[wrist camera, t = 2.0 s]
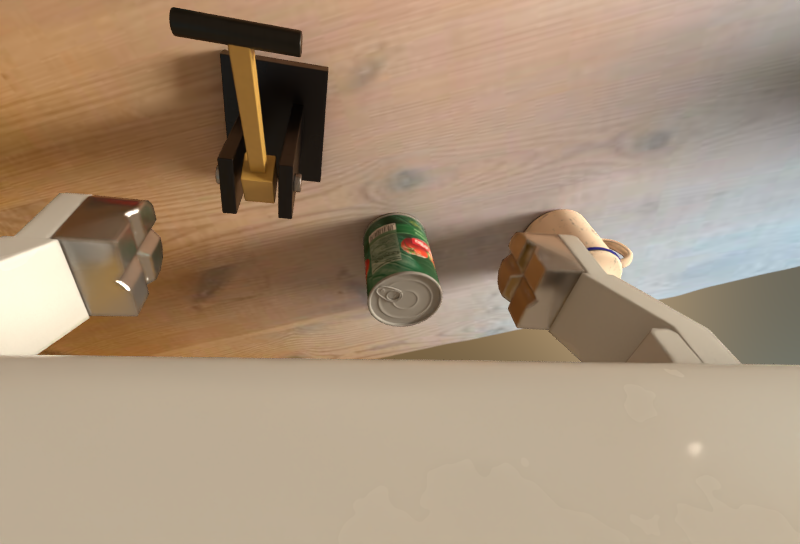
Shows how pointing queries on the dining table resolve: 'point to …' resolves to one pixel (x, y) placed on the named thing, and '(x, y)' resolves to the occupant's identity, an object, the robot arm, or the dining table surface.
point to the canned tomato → (400, 271)
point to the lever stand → (276, 128)
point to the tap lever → (244, 83)
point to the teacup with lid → (584, 238)
